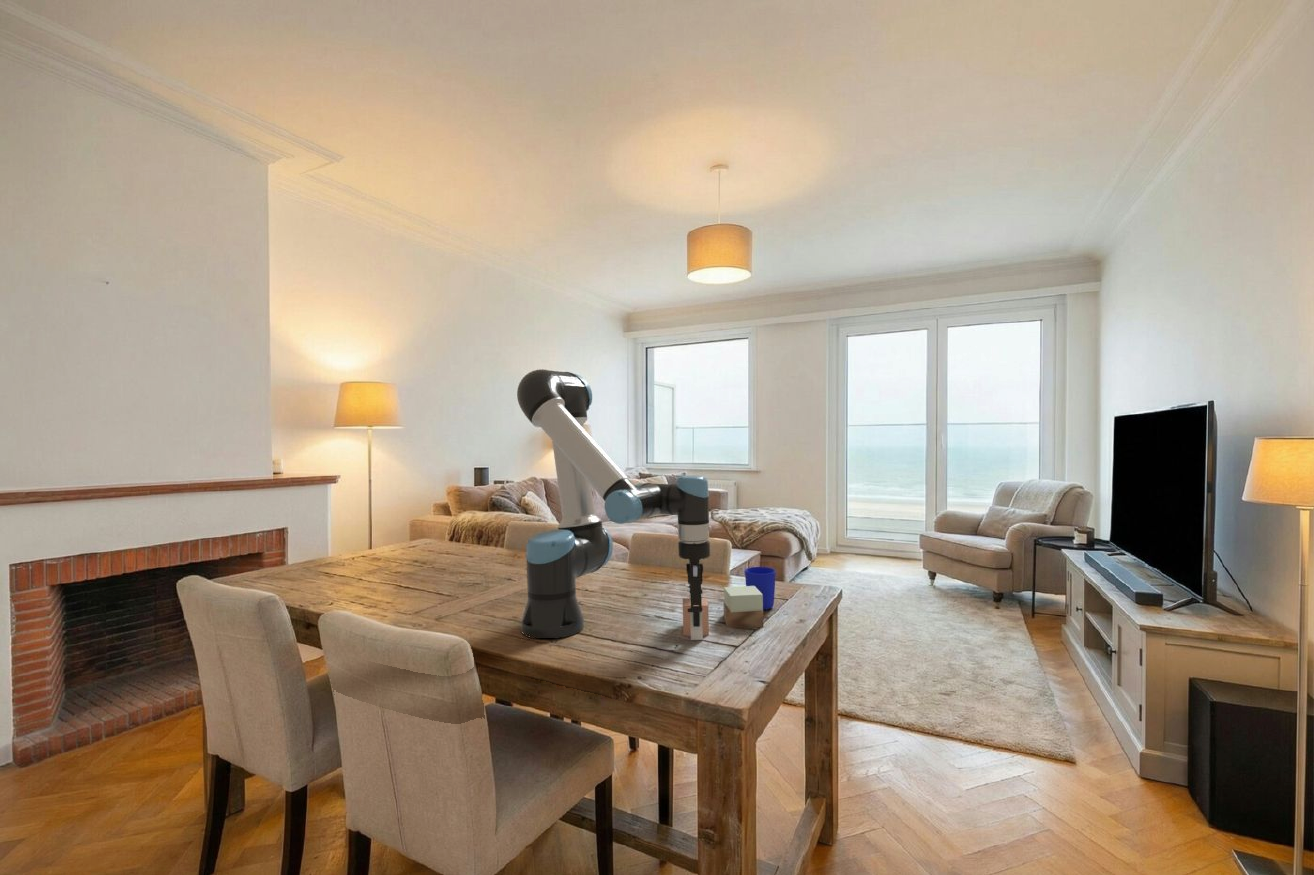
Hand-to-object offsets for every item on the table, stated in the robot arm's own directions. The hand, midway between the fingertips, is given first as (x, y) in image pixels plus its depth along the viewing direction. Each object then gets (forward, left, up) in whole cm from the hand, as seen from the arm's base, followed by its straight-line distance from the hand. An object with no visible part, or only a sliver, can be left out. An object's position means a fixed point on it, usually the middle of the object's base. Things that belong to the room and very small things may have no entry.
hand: (696, 630), depth 144 cm
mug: (+18, +20, 0) cm, 27 cm away
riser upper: (+12, +7, +3) cm, 14 cm away
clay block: (0, 0, 0) cm, 0 cm away
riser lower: (+12, +7, -1) cm, 14 cm away
